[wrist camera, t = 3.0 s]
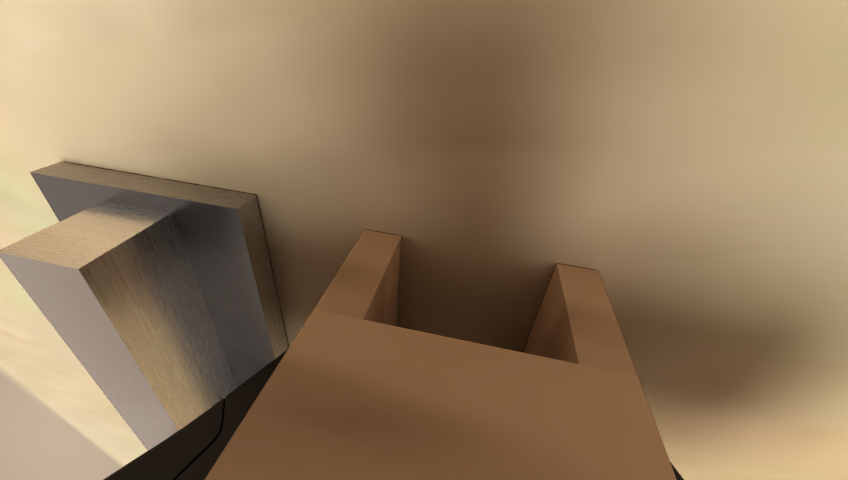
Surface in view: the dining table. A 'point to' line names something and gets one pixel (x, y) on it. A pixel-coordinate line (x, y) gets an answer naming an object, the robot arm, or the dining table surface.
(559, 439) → the block
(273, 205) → the dining table surface
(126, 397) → the rail
